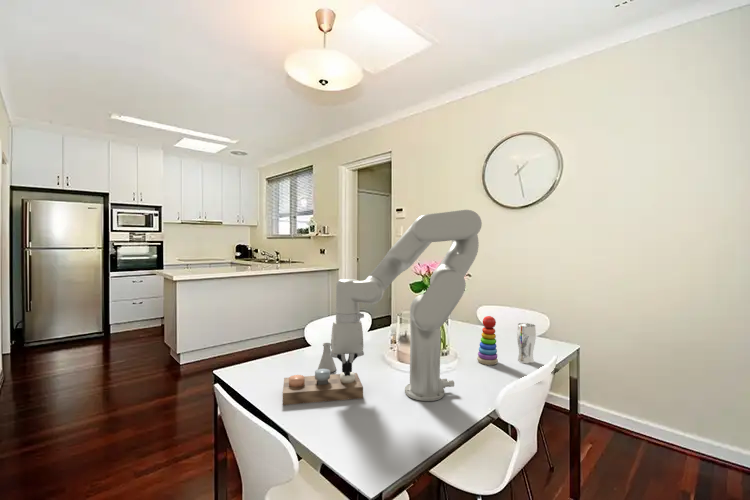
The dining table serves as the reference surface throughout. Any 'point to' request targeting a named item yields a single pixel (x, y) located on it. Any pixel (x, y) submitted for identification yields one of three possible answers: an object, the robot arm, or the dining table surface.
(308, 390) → the button panel
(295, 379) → the terracotta button
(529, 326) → the beer glass
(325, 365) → the flask
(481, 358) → the stacking toy
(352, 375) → the ivory button
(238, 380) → the dining table surface
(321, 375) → the slate button
